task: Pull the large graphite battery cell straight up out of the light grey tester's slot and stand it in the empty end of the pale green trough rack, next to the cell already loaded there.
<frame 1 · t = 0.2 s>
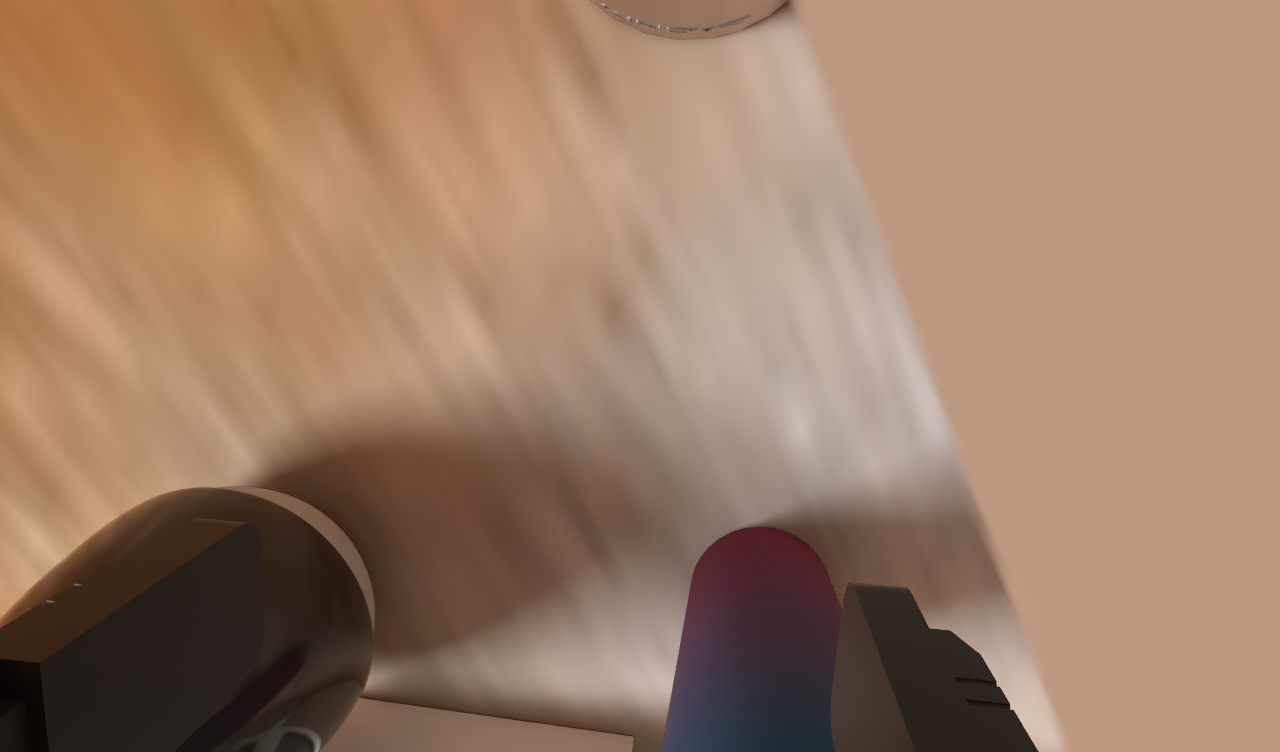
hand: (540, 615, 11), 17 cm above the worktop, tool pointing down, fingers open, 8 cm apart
pump dispenser: (288, 573, 31), on the worktop
cup: (759, 587, 30), on the worktop
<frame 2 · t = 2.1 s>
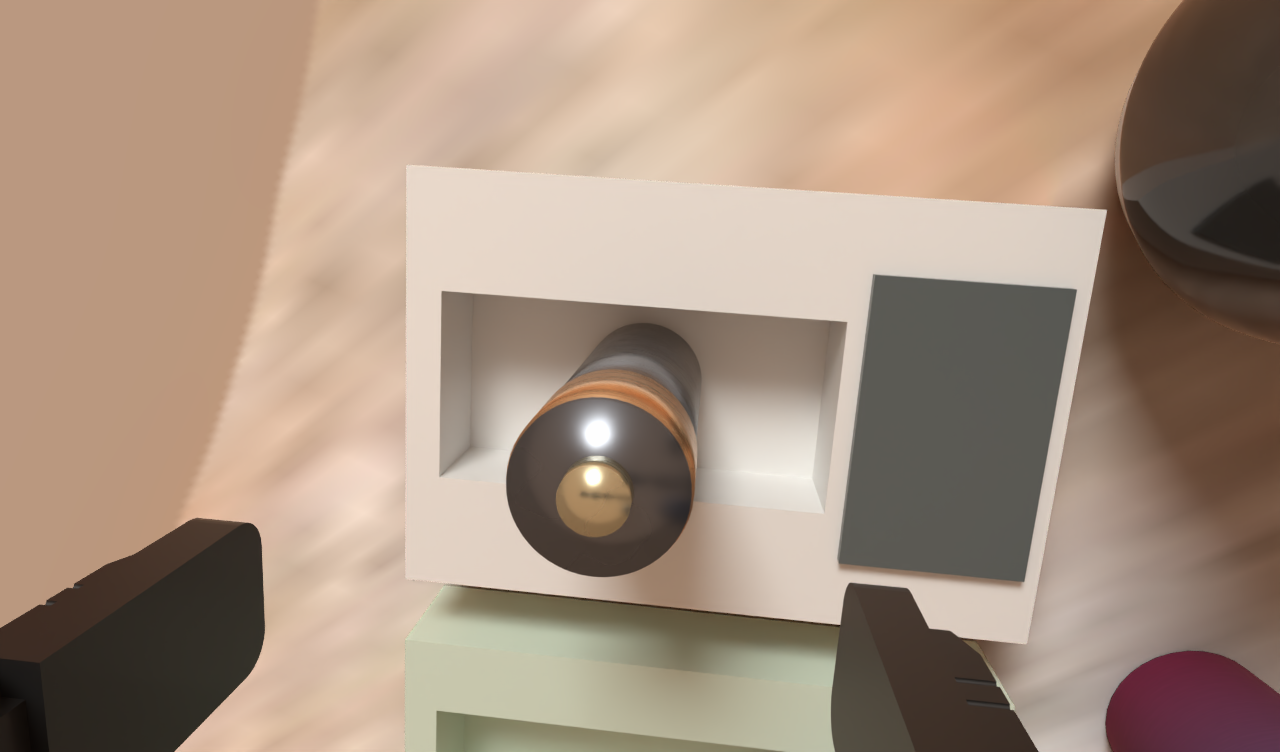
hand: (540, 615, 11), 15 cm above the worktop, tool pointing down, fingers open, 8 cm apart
pump dispenser: (1239, 149, 23), on the worktop
battery tester: (723, 382, 26), on the worktop
cell: (643, 380, 25), point 1 cm above the worktop, touching battery tester
trough rack: (691, 742, 28), on the worktop
cup: (1181, 715, 27), on the worktop
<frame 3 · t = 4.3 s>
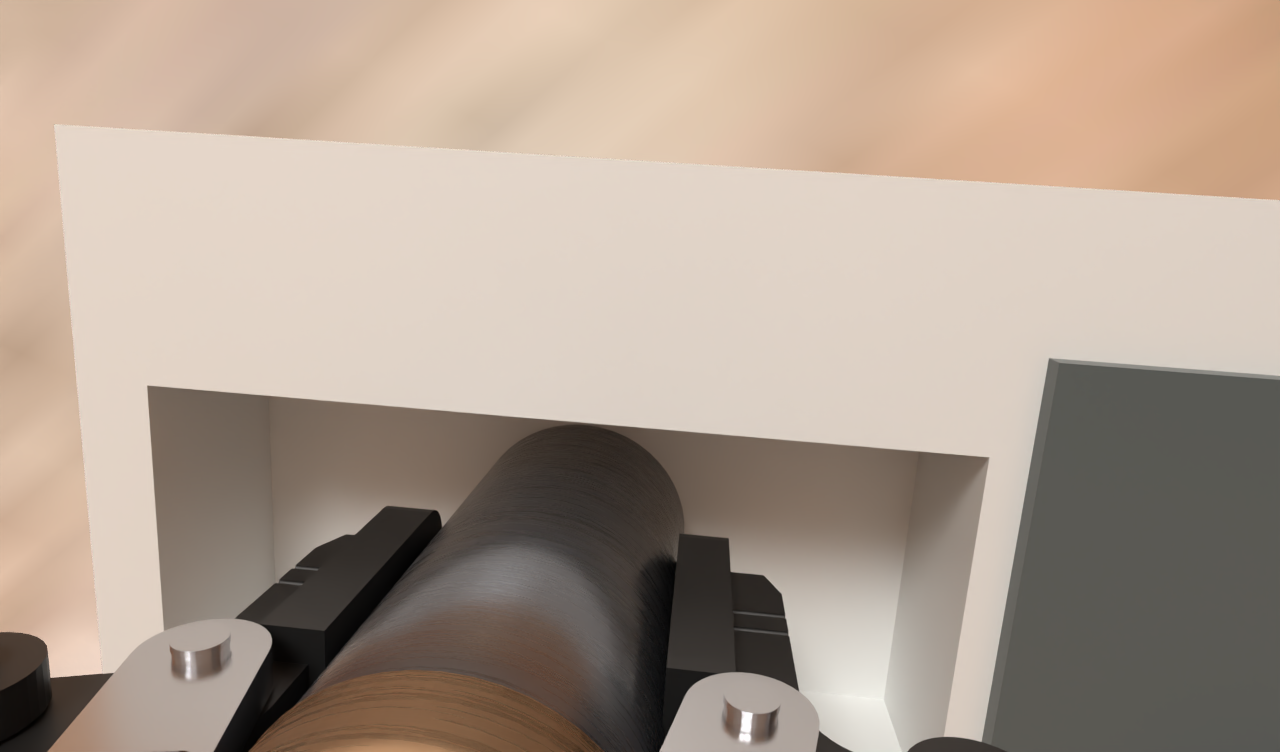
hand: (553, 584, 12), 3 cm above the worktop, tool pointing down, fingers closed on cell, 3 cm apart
battery tester: (724, 525, 14), on the worktop
cell: (579, 525, 14), point 1 cm above the worktop, touching battery tester, gripper
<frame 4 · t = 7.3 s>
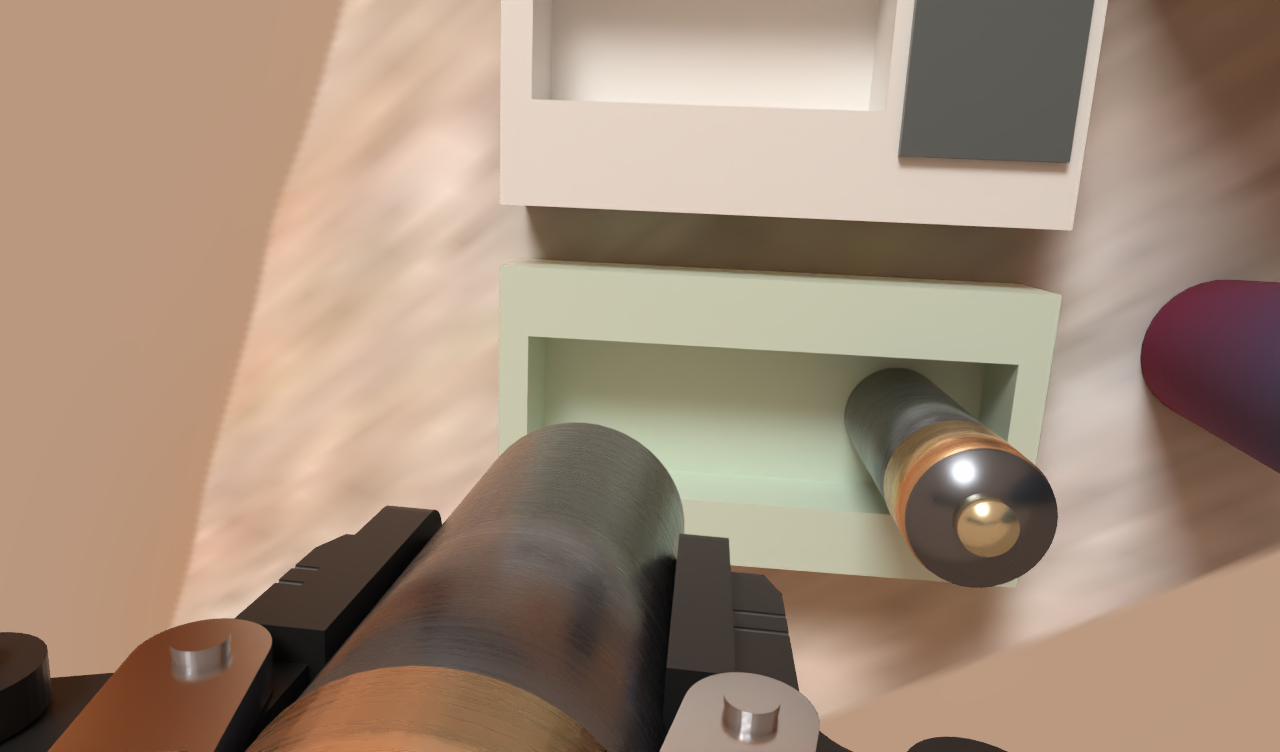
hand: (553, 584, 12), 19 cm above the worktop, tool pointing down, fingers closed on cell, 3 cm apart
battery tester: (784, 37, 28), on the worktop
cell: (580, 523, 14), point 17 cm above the worktop, touching gripper
trough rack: (756, 403, 31), on the worktop
cup: (1211, 349, 29), on the worktop
loaded cell: (894, 415, 30), point 1 cm above the worktop, touching trough rack
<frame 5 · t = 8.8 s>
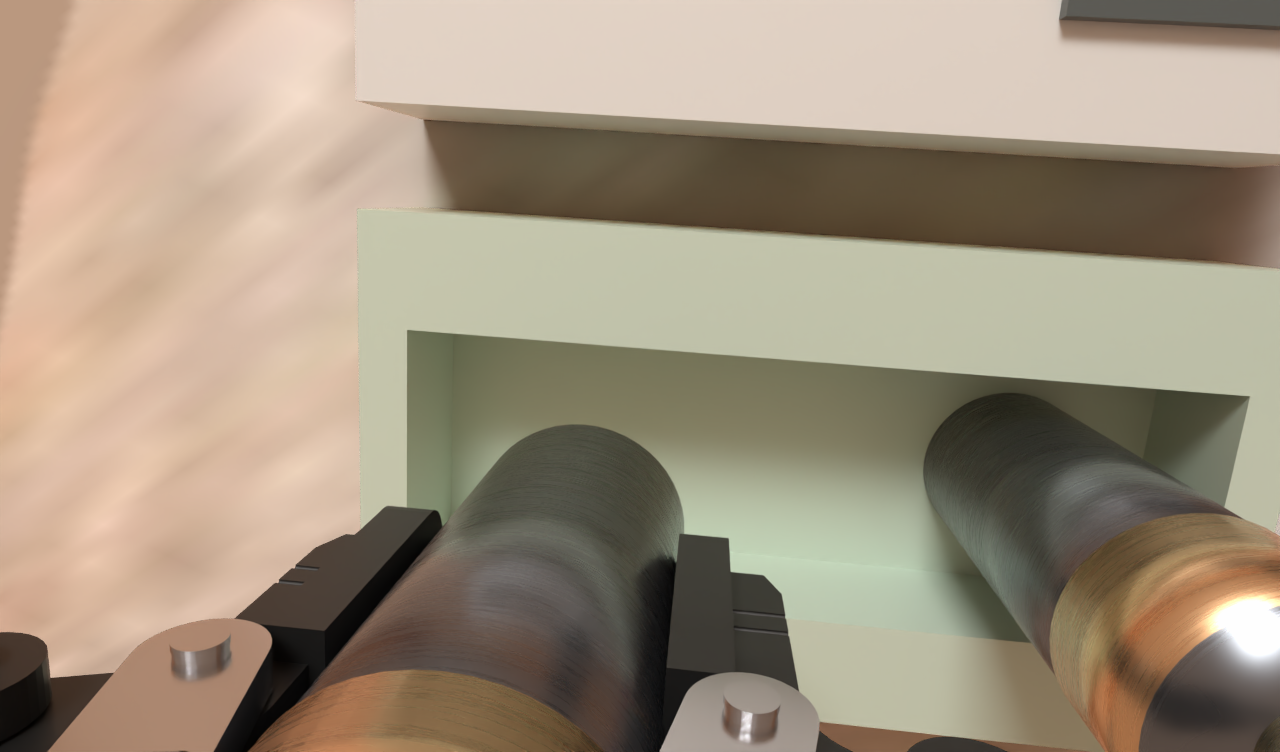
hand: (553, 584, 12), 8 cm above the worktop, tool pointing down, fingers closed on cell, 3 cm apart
cell: (579, 525, 14), point 6 cm above the worktop, touching gripper
trough rack: (782, 442, 20), on the worktop
loaded cell: (1003, 468, 19), point 1 cm above the worktop, touching trough rack
when the fingers open (4 cm above the worktop, at t = 10.3 s): cell drops 1 cm, resting on trough rack.
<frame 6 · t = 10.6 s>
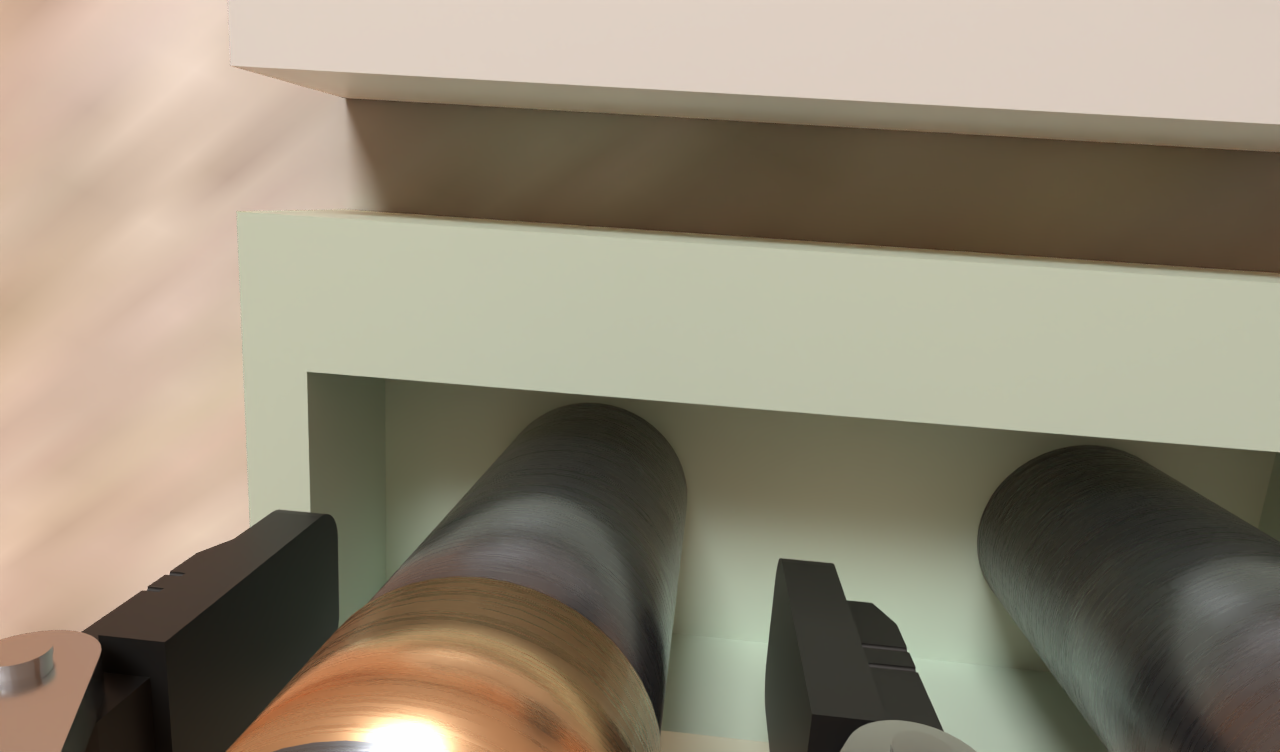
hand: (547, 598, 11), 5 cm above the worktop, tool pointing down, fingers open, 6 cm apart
cell: (592, 494, 15), point 1 cm above the worktop, touching trough rack
trough rack: (799, 502, 16), on the worktop
loaded cell: (1079, 539, 15), point 1 cm above the worktop, touching trough rack
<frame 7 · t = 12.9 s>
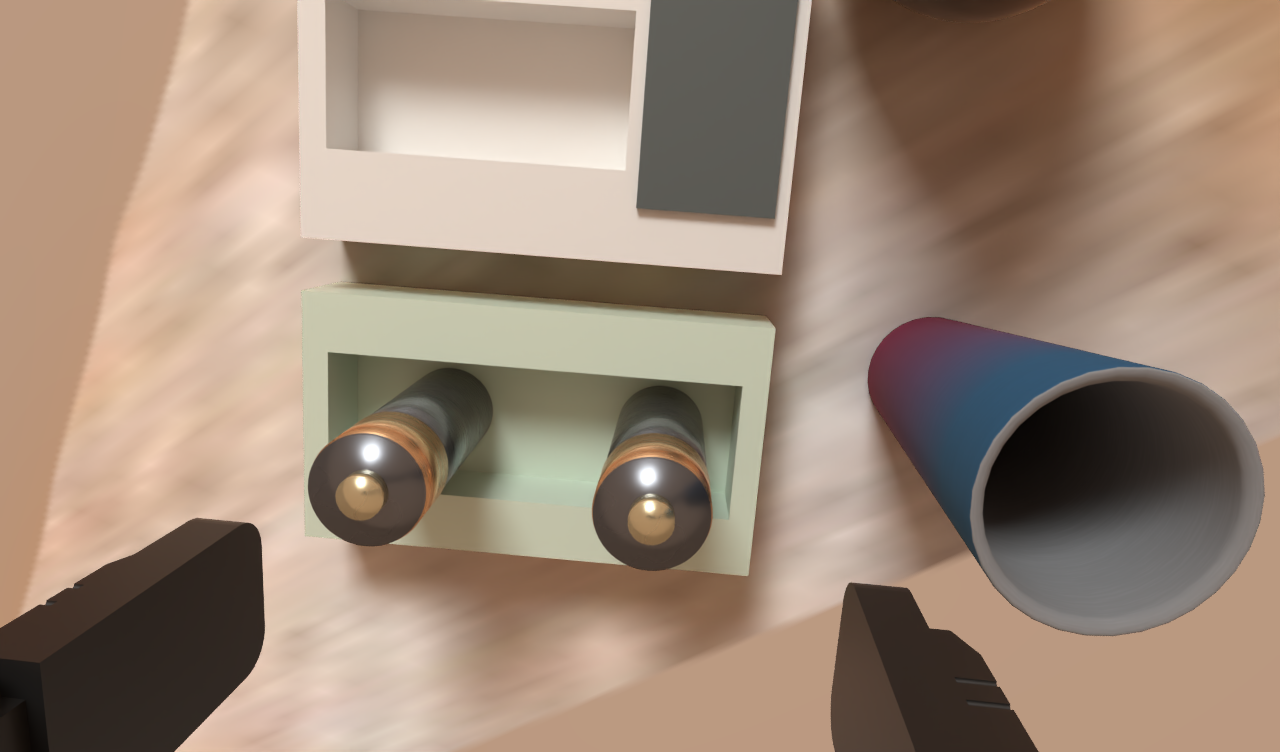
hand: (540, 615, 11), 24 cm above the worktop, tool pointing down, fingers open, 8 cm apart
battery tester: (561, 99, 32), on the worktop
cell: (451, 409, 35), point 1 cm above the worktop, touching trough rack
trough rack: (545, 413, 35), on the worktop
cup: (926, 375, 34), on the worktop
loaded cell: (660, 426, 34), point 1 cm above the worktop, touching trough rack
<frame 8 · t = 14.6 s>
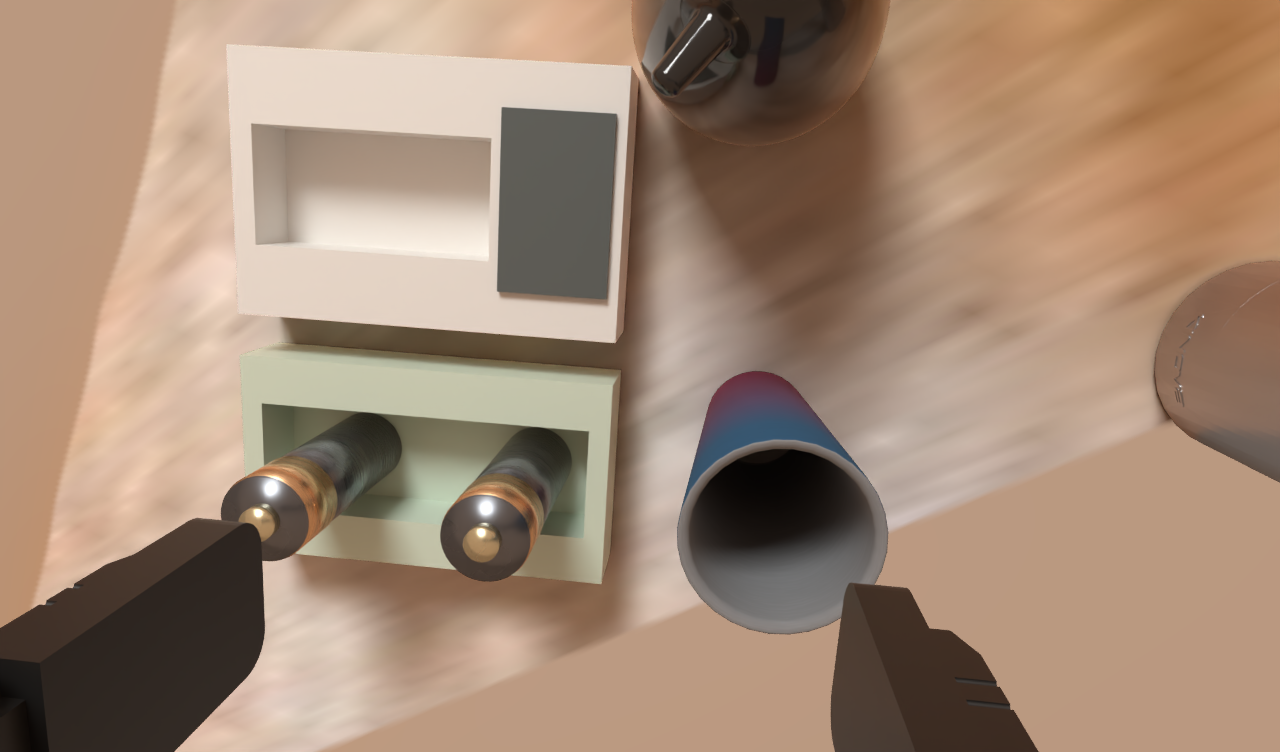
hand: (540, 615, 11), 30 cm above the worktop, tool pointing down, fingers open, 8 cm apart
pump dispenser: (749, 39, 37), on the worktop
battery tester: (449, 196, 40), on the worktop
cell: (368, 445, 42), point 1 cm above the worktop, touching trough rack
trough rack: (446, 448, 43), on the worktop
cup: (756, 418, 41), on the worktop
loaded cell: (537, 460, 42), point 1 cm above the worktop, touching trough rack
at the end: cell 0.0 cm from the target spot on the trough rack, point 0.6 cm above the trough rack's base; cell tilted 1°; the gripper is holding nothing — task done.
